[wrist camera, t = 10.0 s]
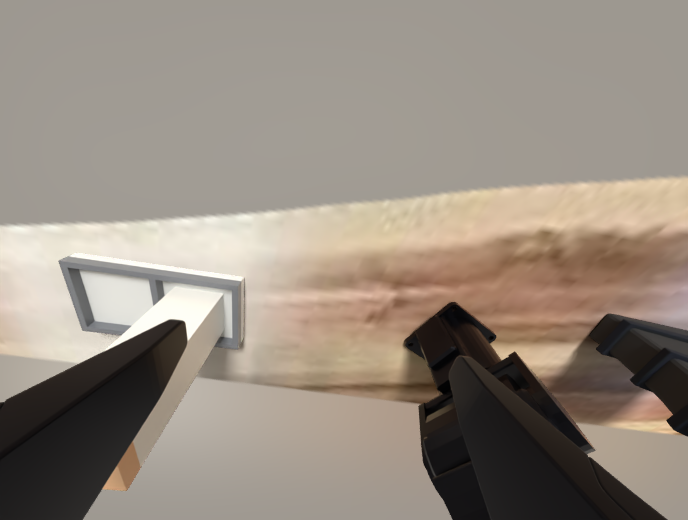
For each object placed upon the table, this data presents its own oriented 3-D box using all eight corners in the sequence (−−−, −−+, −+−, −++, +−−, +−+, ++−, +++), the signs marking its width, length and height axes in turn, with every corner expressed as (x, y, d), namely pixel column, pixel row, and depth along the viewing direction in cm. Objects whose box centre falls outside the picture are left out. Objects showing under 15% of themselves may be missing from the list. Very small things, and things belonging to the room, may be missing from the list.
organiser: (244, 277, 22) (237, 286, 21) (243, 338, 25) (238, 349, 24) (76, 252, 21) (58, 260, 19) (96, 319, 24) (82, 330, 22)
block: (223, 293, 22) (110, 445, 11) (224, 329, 24) (126, 491, 13) (175, 286, 22) (9, 437, 11) (179, 323, 23) (40, 484, 12)
